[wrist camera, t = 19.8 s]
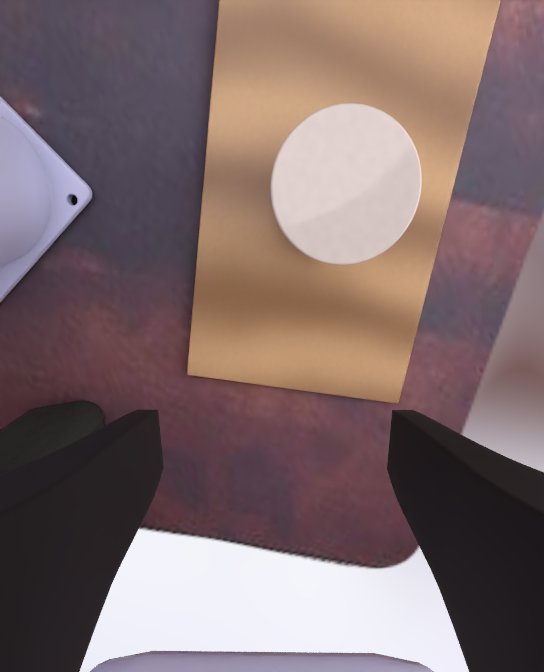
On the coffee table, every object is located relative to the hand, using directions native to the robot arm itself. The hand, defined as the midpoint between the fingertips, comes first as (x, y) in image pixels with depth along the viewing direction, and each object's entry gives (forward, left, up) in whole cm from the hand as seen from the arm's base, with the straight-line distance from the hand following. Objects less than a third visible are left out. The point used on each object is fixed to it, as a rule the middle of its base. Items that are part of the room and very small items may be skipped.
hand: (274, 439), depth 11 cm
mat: (+7, +4, -9) cm, 12 cm away
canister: (+7, +4, -9) cm, 12 cm away
